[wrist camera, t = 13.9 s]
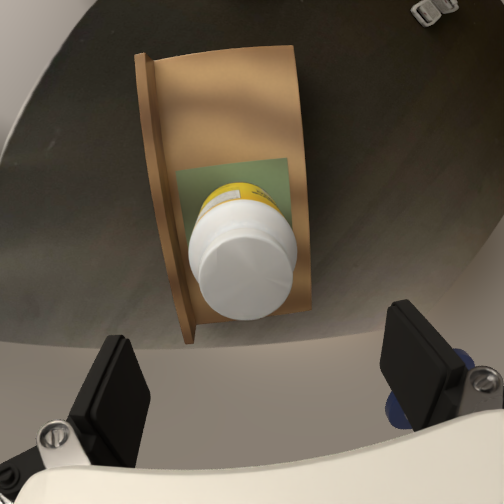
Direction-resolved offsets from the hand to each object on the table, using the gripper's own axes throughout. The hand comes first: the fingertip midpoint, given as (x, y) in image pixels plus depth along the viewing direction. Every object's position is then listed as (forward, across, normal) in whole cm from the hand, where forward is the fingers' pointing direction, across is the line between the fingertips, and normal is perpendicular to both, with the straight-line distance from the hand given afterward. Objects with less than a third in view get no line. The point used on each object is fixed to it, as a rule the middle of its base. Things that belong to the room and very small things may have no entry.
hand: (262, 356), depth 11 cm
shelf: (+23, +1, -3) cm, 23 cm away
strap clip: (+23, -25, -24) cm, 42 cm away
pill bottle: (+17, 0, 0) cm, 17 cm away
